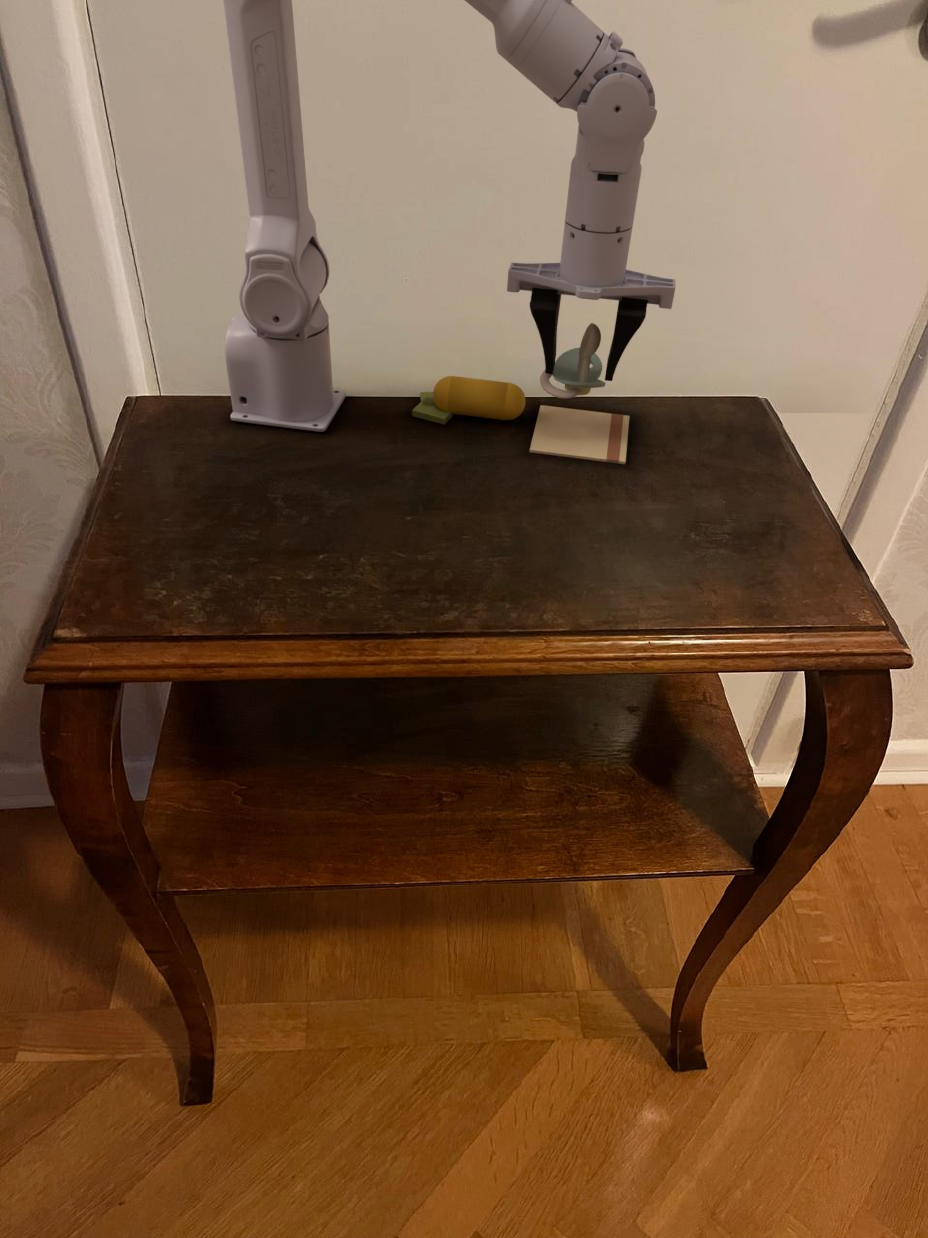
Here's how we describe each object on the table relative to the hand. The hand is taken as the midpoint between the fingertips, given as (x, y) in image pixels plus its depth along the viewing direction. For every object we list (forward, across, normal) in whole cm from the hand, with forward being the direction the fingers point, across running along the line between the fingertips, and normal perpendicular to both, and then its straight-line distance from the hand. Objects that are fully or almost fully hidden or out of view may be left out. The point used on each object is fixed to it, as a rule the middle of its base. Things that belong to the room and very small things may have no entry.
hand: (578, 372), depth 85 cm
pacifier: (+2, -1, 0) cm, 2 cm away
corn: (+6, -10, 0) cm, 12 cm away
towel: (+6, +1, -1) cm, 6 cm away
